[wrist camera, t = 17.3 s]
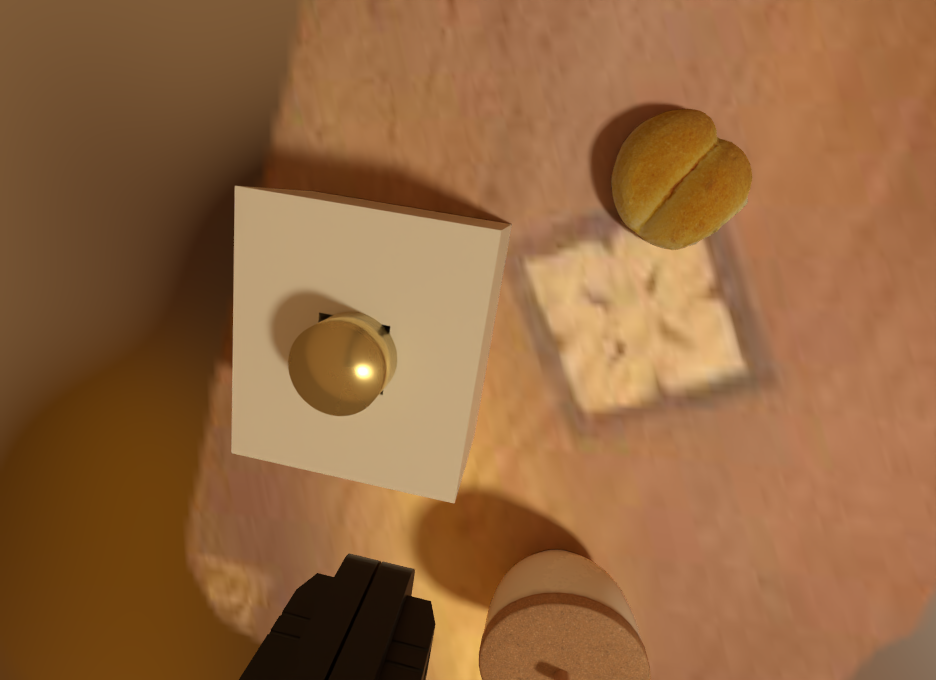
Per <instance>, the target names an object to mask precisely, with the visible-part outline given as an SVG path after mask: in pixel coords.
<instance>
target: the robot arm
mask: <svg viewBox="0 0 936 680" xmlns="http://www.w3.org/2000/svg"><path fill="white" fill-rule="evenodd" d="M414 573H415V570H414V569H412V568H407V567H403V566H399V565H395V564H391V563H387V562H382V563H381V561H378V560H374V559H370V558H366V557H361V556H357V555H353V554H348V555H347V556H346V557H345V559H344V560H343V562H342V564H341V566H340V568H339V569H338V571H337V573H336V575H335V577H331V576H327V575H323V574H319V573H317V574H316V575H315V576H313V577H312V578H311V579H309V580H308V581H307V582H306V583H304V584H303V585H302V586H300V587H299V588H298V589H297V590H296V591H295V593H294V594H293V596H292V597H291V599H290V601H289V602H288V604H287V605H286V607H285V608H284V610H283V612H282V615H281V616H279V618H278V619H277V621H276V622H275V624H274V626H273V627H272V629H271V632H270V634H268V635H267V636H266V638H265V640H264V641H263V643H262V644H261V646H260V647H259V649H258V651H257V652H256V654H255V655H254V657H253V658H252V660H251V662H250V663H249V665H248V666H247V668H246V670H245V671H244V673H243V674H242V676H241V677H240V679H239V680H426V675H427V670H428V664H429V658H430V652H431V646H432V641H433V635H434V629H435V620H434V615H433V609H432V604H431V601H428V600H424V599H420V598H416V597H412V596H411V594H412V587H413V581H414Z"/></svg>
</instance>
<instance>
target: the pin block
mask: <svg viewBox="0 0 936 680" xmlns="http://www.w3.org/2000/svg"><path fill="white" fill-rule="evenodd" d="M511 226H512V224H507V223H501V222H495V221H489V220H483V219H477V218H471V217H465V216H459V215H453V214H447V213H441V212H435V211H429V210H423V209H417V208H411V207H405V206H399V205H393V204H387V203H381V202H375V201H369V200H363V199H357V198H351V197H345V196H339V195H333V194H327V193H321V192H315V191H306V190H291V189H277V188H262V187H247V186H235V213H234V292H233V374H232V453H234V454H238V455H243V456H247V457H251V458H256V459H260V460H265V461H269V462H273V463H278V464H282V465H287V466H291V467H295V468H300V469H304V470H309V471H313V472H317V473H322V474H326V475H331V476H335V477H339V478H344V479H348V480H353V481H357V482H361V483H366V484H370V485H375V486H379V487H383V488H388V489H392V490H397V491H401V492H405V493H410V494H414V495H419V496H423V497H427V498H432V499H436V500H441V501H445V502H449V503H454V504H455V500H456V497H457V494H458V490H459V487H460V483H461V480H462V476H463V473H464V470H465V466H466V463H467V459H468V456H469V452H470V449H471V446H472V442H473V439H474V435H475V430H476V424H477V418H478V413H479V407H480V402H481V396H482V390H483V385H484V379H485V373H486V368H487V362H488V356H489V351H490V345H491V339H492V334H493V328H494V322H495V317H496V311H497V306H498V300H499V294H500V289H501V283H502V277H503V272H504V266H505V260H506V255H507V249H508V243H509V238H510V232H511ZM341 312H359V313H363V314H366V315H368V316H370V317H372V318H374V319H375V320H377V321H378V322H379V323H381V324H382V325H387V326H390V335H391V337H392V339H393V341H394V344H395V347H396V351H397V367H396V371H395V374H394V376H393V378H392V380H391V381H390V382H389V384H388V385H387V386H386V387H385V388H384V389H383V391H382V392H381V393H380V394H379V395H378V396H377V398H376V399H375V400H374V401H373V402H372V403H371V404H370V405H369V406H368V407H367V408H366V409H364V410H363V411H361V412H359V413H356V414H353V415H349V416H333V415H329V414H325V413H323V412H320V411H318V410H316V409H314V408H313V407H311V406H310V405H309V404H308V403H306V402H305V401H304V400H303V399H302V398H301V396H300V395H299V394H298V392H297V391H296V389H295V388H294V386H293V384H292V381H291V379H290V375H289V369H288V358H289V353H290V349H291V347H292V344H293V343H294V341H295V339H296V338H297V337H298V336H299V335H300V334H301V333H302V332H303V331H305V330H306V329H308V328H309V327H311V326H313V325H315V324H317V323H319V322H321V321H323V320H325V319H327V318H329V317H330V316H333V315H335V314H338V313H341Z"/></svg>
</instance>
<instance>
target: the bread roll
mask: <svg viewBox="0 0 936 680" xmlns="http://www.w3.org/2000/svg"><path fill="white" fill-rule="evenodd" d="M751 181H752V172H751V167H750V163H749V161H748V159H747V157H746V155H745V154H744V152H743V151H742V150H741V149H740V148H739V147H737V146H736V145H735V144H733V143H732V142H729V141H726V140H722V139H719V138H718V137H717V135H716V128H715V125H714V123H713V121H712V119H711V118H710V117H709V116H707V115H706V114H705V113H703V112H701V111H698V110H693V109H679V110H672V111H668V112H664V113H662V114H659V115H657V116H655V117H652V118H650V119H648V120H646V121H644V122H643V123H641V124H640V125H639V126H638V127H636V128H635V129H634V130H633V132H632V133H631V134H630V135H629V136H628V137H627V139H626V140H625V141H624V143H623V145H622V146H621V148H620V151H619V153H618V156H617V159H616V162H615V165H614V168H613V173H612V179H611V188H612V196H613V200H614V204H615V206H616V209H617V211H618V214H619V215H620V217H621V219H622V221H623V222H624V223H625V224H626V225H627V226H628V227H629V228H630V229H631V230H633V231H634V232H636V234H637V235H639V236H640V237H641V238H642V239H643V240H645V241H647V242H648V243H650V244H653V245H655V246H657V247H661V248H664V249H670V250H678V249H682V248H685V247H687V246H691V245H693V244H696V243H697V242H699V241H700V240H702V239H704V238H706V237H708V236H710V235H712V234H713V233H715V232H716V231H718V230H719V228H720V227H721V226H722V225H723V224H725V223H726V222H728V221H729V220H730V219H731V218H732V217H733V216H734V215H736V214H737V213H738V212H739V211H740V210H741V209H742V208H743V207H744V206H745V205H746V204H747V202H748V199H747V196H748V193H749V190H750V186H751Z"/></svg>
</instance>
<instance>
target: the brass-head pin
mask: <svg viewBox="0 0 936 680" xmlns="http://www.w3.org/2000/svg"><path fill="white" fill-rule="evenodd" d="M396 367H397V351H396V347H395V344H394V341H393V339H392V337H391V335H390V326H387V325H382V324H381V323H379V322H378V321H377V320H375V319H374V318H372V317H370V316H368V315H366V314H363V313H359V312H341V313H338V314H335V315H333V316H330V317H329V318H327V319H325V320H323V321H321V322H319V323H317V324H315V325H313V326H311V327H309V328H308V329H306V330H305V331H303V332H302V333H301V334H300V335H299V336H298V337H297V338H296V339H295V341H294V343H293V344H292V347H291V349H290V353H289V358H288V369H289V375H290V379H291V381H292V384H293V386H294V388H295V389H296V391H297V392H298V394H299V395H300V396H301V398H302V399H303V400H304V401H305V402H306V403H308V404H309V405H310V406H311V407H313V408H314V409H316V410H318V411H320V412H323V413H325V414H329V415H333V416H349V415H353V414H356V413H359V412H361V411H363V410H364V409H366V408H367V407H368V406H369V405H370V404H371V403H372V402H373V401H374V400H375V399H376V398H377V396H378V395H379V394H380V393H381V392H382V391H383V389H384V388H385V387H386V386H387V385H388V384H389V382H390V381H391V380H392V378H393V376H394V374H395V371H396Z"/></svg>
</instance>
